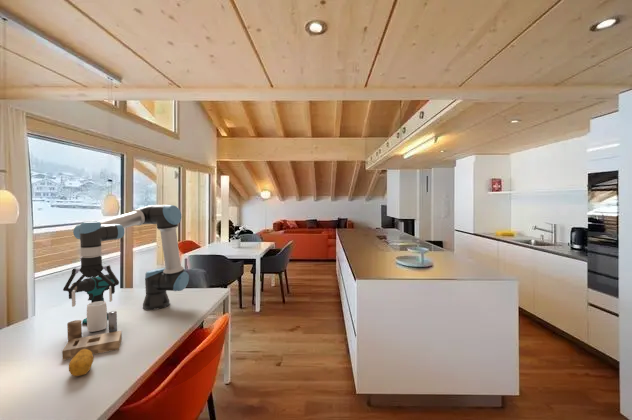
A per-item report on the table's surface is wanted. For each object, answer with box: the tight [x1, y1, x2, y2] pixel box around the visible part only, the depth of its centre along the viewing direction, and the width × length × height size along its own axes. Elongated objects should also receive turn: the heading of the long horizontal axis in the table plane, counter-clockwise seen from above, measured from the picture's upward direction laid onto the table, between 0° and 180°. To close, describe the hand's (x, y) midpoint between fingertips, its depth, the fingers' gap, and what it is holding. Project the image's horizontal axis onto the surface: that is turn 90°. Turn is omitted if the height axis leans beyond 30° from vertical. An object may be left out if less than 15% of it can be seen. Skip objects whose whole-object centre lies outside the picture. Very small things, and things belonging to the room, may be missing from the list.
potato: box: [68, 349, 94, 377], centre depth 119 cm, size 7×14×7 cm, turn 25°
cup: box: [86, 300, 108, 333], centre depth 158 cm, size 8×8×14 cm
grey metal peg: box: [107, 310, 118, 333], centre depth 151 cm, size 3×3×12 cm
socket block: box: [61, 330, 123, 361], centre depth 138 cm, size 20×12×4 cm, turn 118°
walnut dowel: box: [67, 319, 83, 342], centre depth 144 cm, size 5×5×10 cm
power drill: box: [69, 273, 115, 325], centre depth 169 cm, size 26×9×25 cm, turn 168°
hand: (92, 303), depth 138 cm, fingers open, 13 cm apart
